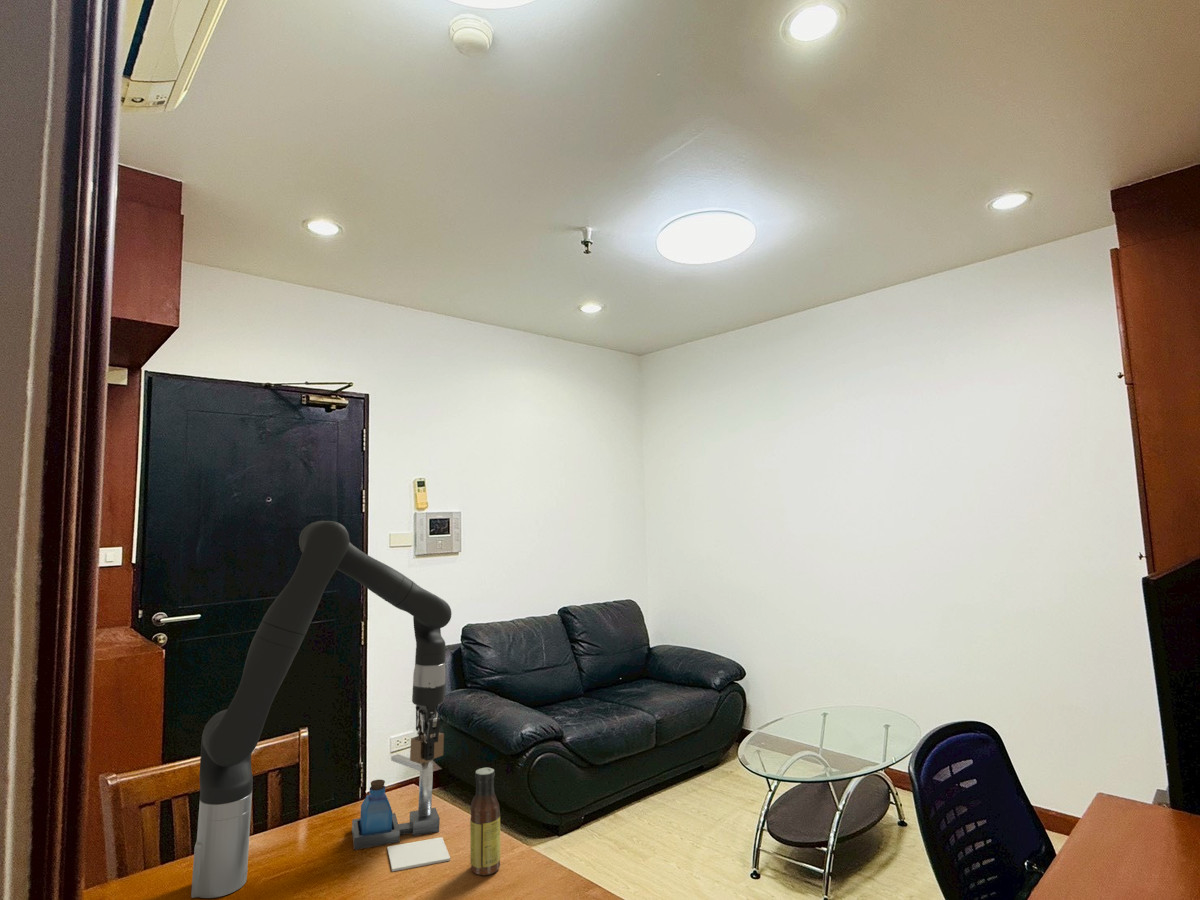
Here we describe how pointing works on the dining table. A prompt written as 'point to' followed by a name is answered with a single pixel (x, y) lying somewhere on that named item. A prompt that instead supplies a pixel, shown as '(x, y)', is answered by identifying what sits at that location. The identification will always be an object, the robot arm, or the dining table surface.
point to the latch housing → (396, 830)
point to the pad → (417, 854)
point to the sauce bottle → (485, 825)
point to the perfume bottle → (376, 810)
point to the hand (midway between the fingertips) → (425, 755)
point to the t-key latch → (422, 769)
